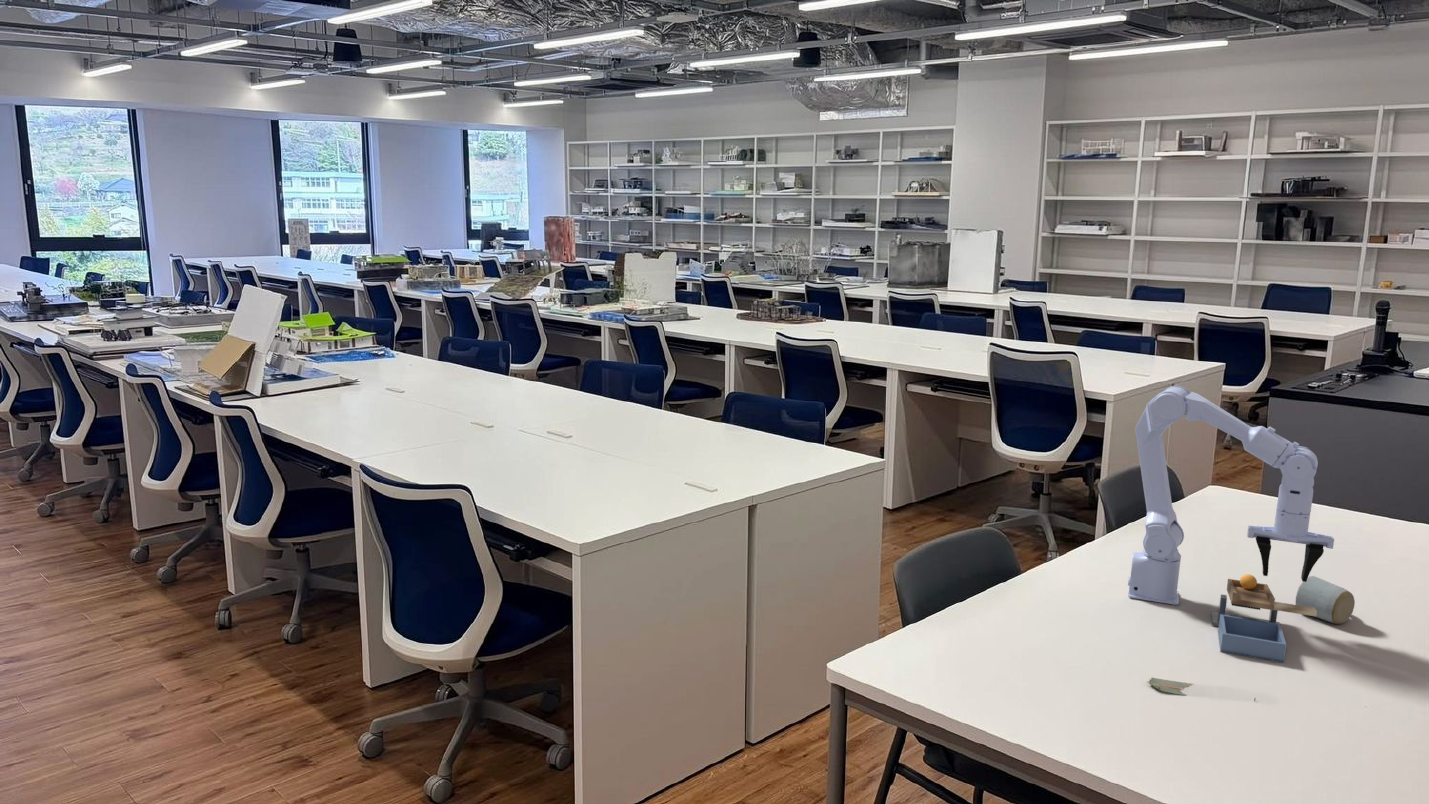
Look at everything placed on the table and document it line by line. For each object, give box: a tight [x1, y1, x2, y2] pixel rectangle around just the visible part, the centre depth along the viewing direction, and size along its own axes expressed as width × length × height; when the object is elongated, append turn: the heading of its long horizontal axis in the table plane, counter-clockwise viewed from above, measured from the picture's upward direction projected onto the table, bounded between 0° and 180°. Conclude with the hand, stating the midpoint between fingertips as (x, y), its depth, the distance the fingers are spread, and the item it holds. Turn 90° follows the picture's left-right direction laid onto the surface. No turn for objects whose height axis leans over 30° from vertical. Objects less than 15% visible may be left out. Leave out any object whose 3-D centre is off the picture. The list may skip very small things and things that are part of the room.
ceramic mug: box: [1295, 575, 1356, 625], centre depth 202 cm, size 11×8×8 cm
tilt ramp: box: [1226, 578, 1317, 617], centre depth 194 cm, size 14×14×5 cm
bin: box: [1217, 614, 1287, 663], centre depth 187 cm, size 10×10×4 cm
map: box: [1146, 677, 1256, 702], centre depth 169 cm, size 5×20×1 cm, turn 80°
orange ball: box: [1239, 573, 1258, 590], centre depth 200 cm, size 3×3×3 cm
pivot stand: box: [1210, 593, 1281, 628], centre depth 196 cm, size 12×6×5 cm, turn 66°
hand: (1284, 577), depth 197 cm, fingers open, 6 cm apart
